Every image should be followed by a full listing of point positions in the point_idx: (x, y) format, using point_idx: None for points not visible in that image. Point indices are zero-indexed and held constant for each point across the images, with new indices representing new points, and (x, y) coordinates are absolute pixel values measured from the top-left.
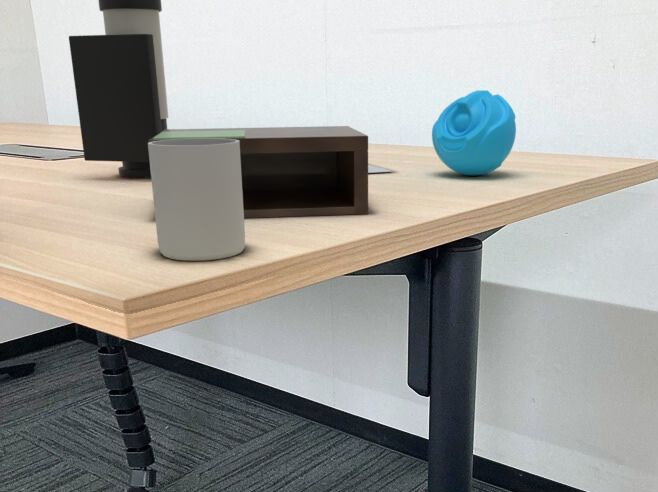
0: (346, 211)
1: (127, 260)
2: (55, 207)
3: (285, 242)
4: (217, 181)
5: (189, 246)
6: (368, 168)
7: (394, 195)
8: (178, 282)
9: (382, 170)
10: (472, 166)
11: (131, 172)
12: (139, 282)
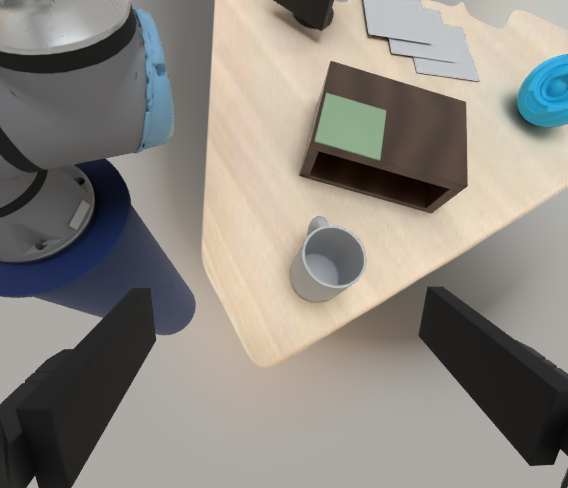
0: (419, 208)
1: (269, 279)
2: (241, 102)
3: (366, 272)
4: (337, 292)
5: (306, 298)
6: (465, 63)
7: None
8: (291, 347)
9: (473, 75)
10: (533, 123)
11: (301, 19)
12: (270, 338)
